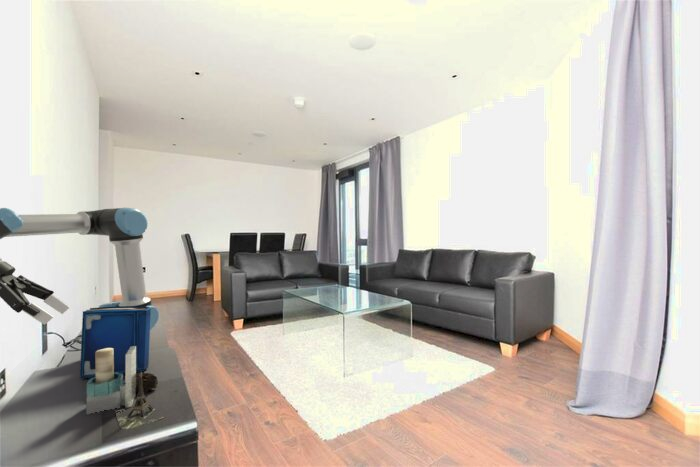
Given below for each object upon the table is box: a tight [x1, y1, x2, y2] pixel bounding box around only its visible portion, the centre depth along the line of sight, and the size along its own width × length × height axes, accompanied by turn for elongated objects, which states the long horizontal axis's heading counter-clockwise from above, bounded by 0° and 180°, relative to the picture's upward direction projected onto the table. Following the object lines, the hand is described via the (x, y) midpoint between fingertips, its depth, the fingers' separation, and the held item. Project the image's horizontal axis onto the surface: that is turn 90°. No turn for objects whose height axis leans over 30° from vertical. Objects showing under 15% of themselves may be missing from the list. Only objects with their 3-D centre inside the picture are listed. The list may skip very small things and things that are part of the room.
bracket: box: [85, 346, 137, 415], centre depth 97 cm, size 8×11×16 cm
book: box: [79, 306, 151, 379], centre depth 120 cm, size 22×7×25 cm, turn 108°
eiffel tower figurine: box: [113, 372, 165, 430], centre depth 91 cm, size 15×10×13 cm
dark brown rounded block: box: [123, 371, 159, 394], centre depth 105 cm, size 18×7×6 cm, turn 105°
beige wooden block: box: [95, 348, 114, 384], centre depth 96 cm, size 4×4×12 cm
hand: (58, 315), depth 97 cm, fingers open, 13 cm apart
